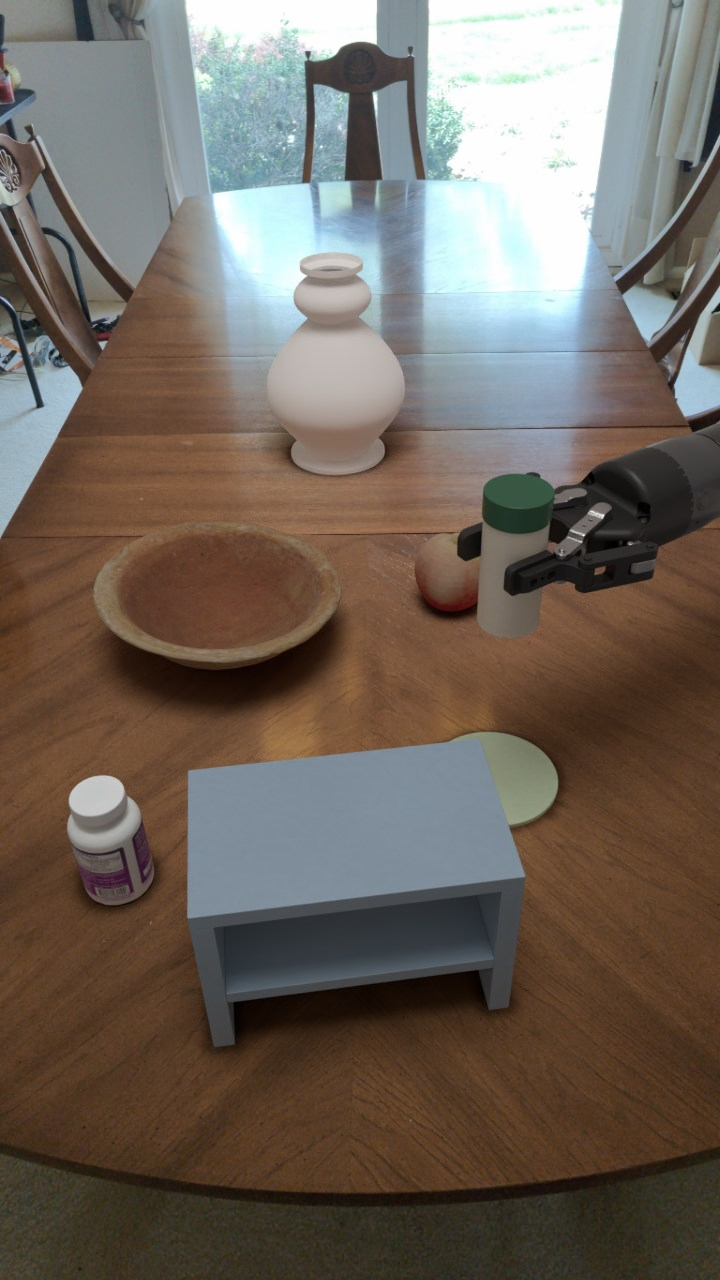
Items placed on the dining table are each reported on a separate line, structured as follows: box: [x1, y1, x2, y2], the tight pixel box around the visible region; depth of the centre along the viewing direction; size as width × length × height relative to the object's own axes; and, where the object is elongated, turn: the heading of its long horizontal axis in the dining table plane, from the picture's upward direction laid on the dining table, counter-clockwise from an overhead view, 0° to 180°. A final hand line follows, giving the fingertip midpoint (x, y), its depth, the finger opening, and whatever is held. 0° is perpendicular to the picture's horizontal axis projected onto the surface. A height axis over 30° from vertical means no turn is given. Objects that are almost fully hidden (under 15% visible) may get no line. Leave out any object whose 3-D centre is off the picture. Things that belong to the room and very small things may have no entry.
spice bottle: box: [476, 473, 555, 640], centre depth 70 cm, size 5×5×11 cm
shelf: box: [186, 739, 527, 1048], centre depth 66 cm, size 12×20×14 cm, turn 98°
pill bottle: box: [66, 774, 155, 906], centre depth 73 cm, size 5×5×10 cm
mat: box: [448, 731, 559, 829], centre depth 84 cm, size 11×11×1 cm
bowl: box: [92, 521, 343, 671], centre depth 97 cm, size 24×24×8 cm
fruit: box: [414, 531, 481, 613], centre depth 102 cm, size 8×8×8 cm
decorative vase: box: [265, 251, 406, 476], centre depth 124 cm, size 18×18×25 cm
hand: (483, 564), depth 68 cm, fingers closed on spice bottle, 4 cm apart
